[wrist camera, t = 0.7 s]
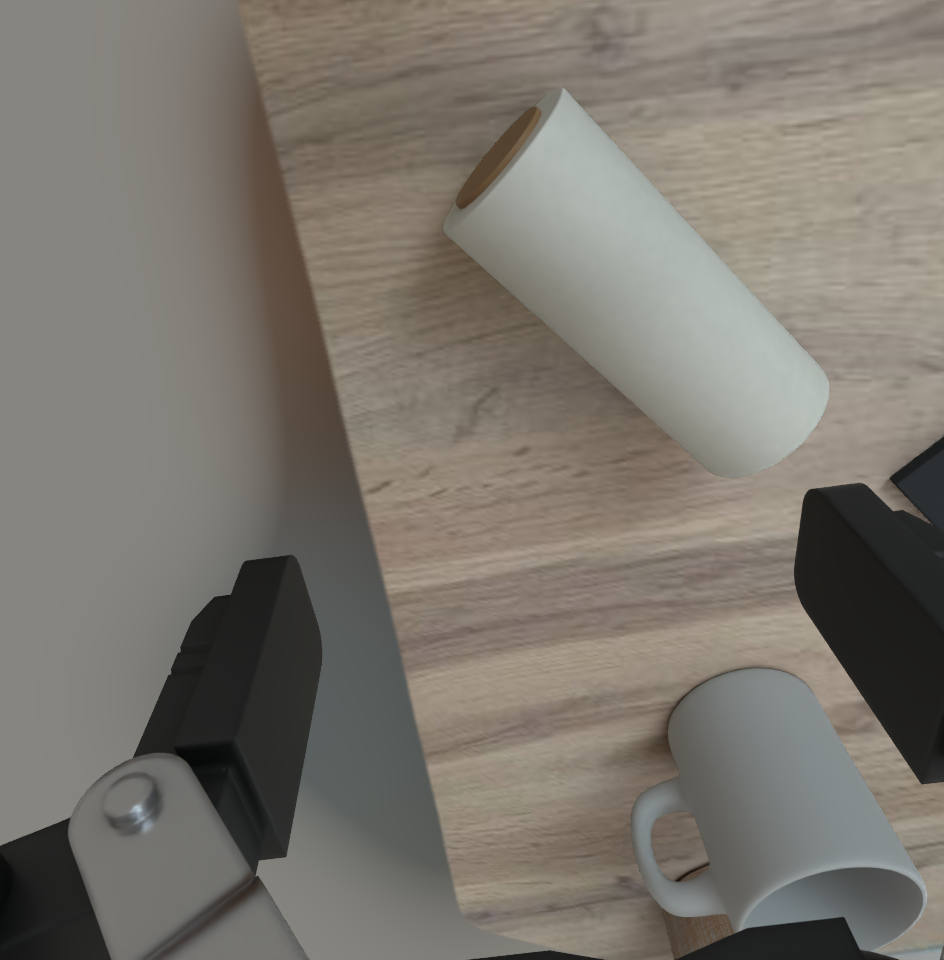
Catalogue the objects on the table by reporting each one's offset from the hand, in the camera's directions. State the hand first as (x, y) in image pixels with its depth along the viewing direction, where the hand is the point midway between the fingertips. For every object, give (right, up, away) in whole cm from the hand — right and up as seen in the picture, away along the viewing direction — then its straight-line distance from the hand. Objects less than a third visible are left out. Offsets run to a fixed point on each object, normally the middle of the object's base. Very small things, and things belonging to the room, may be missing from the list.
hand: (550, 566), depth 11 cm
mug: (+12, -13, +30) cm, 35 cm away
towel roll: (+5, +9, +16) cm, 19 cm away
